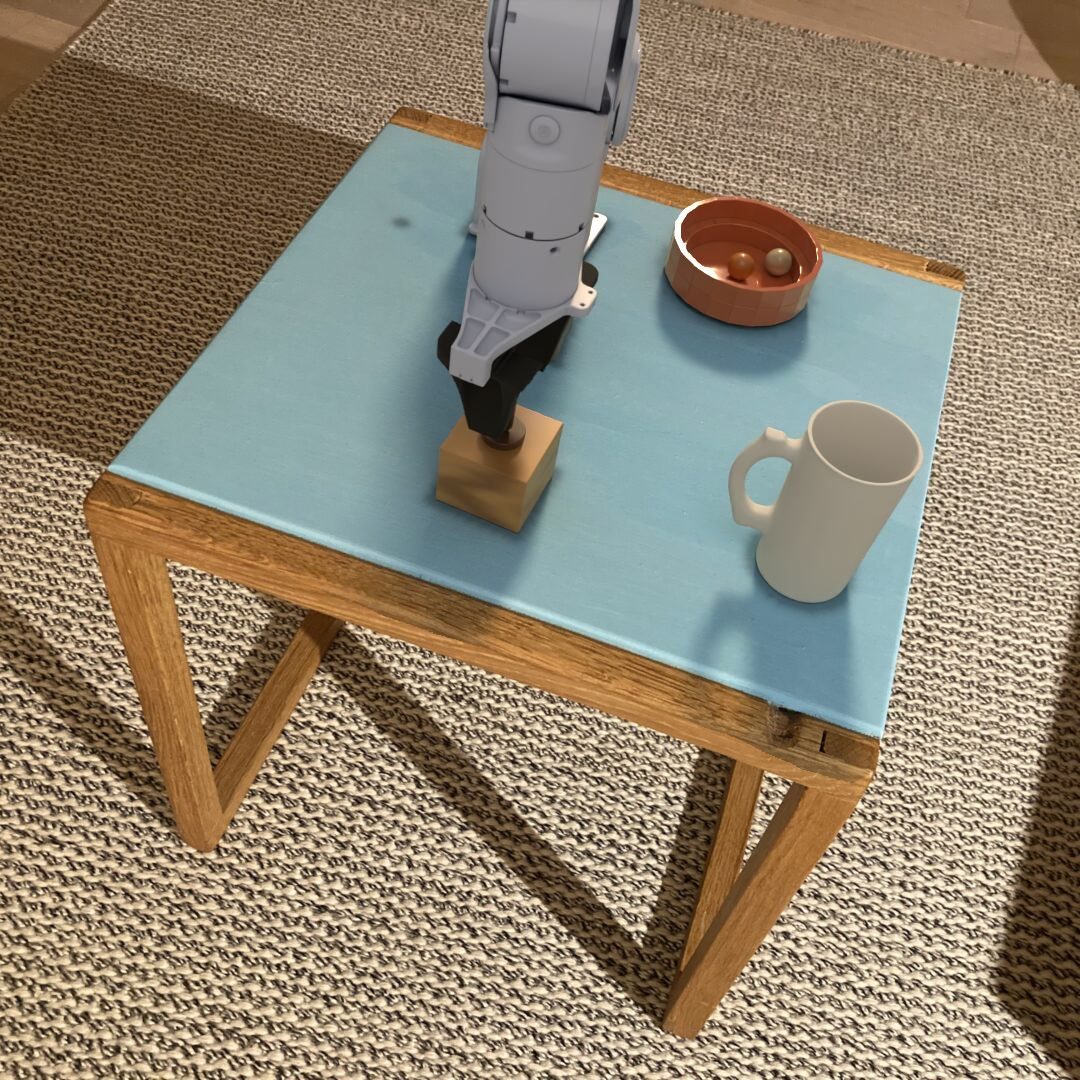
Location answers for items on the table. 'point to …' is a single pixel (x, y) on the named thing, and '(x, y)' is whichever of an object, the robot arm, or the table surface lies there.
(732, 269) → the amber bead
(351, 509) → the table surface
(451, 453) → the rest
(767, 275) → the bowl
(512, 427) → the brown peg
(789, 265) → the cream bead
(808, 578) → the mug
